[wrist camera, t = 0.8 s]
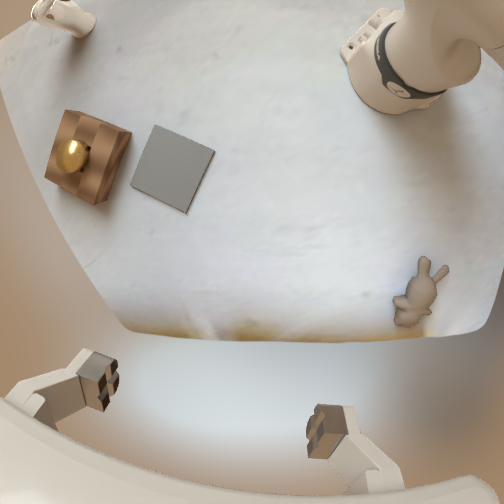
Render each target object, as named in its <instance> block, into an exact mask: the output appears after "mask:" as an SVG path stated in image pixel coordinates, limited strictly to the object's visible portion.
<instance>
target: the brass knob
mask: <svg viewBox="0 0 504 504" xmlns="http://www.w3.org/2000/svg"><path fill="white" fill-rule="evenodd" d="M90 149H91V147H90V146H88V145H87V144H86V143H85V142H84V141H83V140H80V139H68V140H65V141H63V142H62V143H61V144H60V145H59V147H58V149H57V151H56V164H57V167H58V168H59V170H60V171H61V172H63V173H72V172H78V171H81V170H82V169H84V168H85V166H86V165H87V163H88V160H89V152H90Z"/></svg>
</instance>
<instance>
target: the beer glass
mask: <svg viewBox="0 0 504 504" xmlns="http://www.w3.org/2000/svg"><path fill="white" fill-rule="evenodd" d="M30 17H31V20H33V21H35V22H37V23H39V24H41V25H43V26H45V27H48V28H51V29H56V30H63V31H68V32H70V33H71V34H72V35H73V36H75V37H76V38H82V37H84V36H86V35H87V34H89V33H90V32H91V30H92V29H93V28H94V26H95V23H96V18H95V16H94V15H93V14H90V13H86V12H84V11H82V10H81V9H80V8H79V6H78V5H77V4H76V3H75V2H74V1H73V0H37V2H36V3H35V4H34V6H33V8H32V10H31V15H30Z"/></svg>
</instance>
